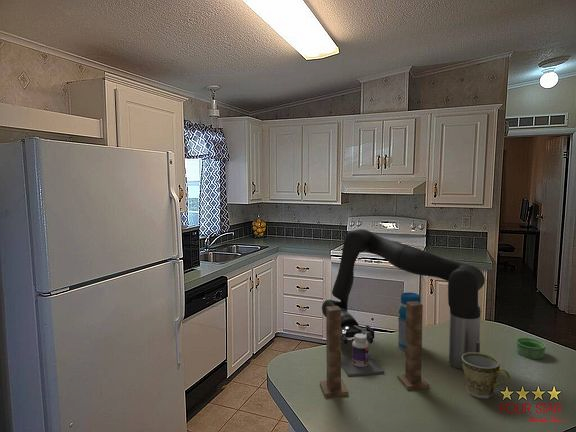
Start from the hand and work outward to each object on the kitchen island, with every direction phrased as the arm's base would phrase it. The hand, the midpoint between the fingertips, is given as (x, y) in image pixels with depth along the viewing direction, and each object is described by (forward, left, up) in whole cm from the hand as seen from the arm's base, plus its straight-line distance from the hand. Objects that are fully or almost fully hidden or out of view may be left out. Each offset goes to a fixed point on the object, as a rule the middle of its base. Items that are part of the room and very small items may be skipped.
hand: (359, 341), depth 131 cm
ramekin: (-55, -29, -8) cm, 62 cm away
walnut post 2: (-18, +6, -8) cm, 20 cm away
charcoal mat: (-1, +1, -8) cm, 8 cm away
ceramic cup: (-38, +5, -8) cm, 39 cm away
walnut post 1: (+4, +18, -8) cm, 20 cm away
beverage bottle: (-15, -20, -8) cm, 26 cm away
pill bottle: (0, +1, -7) cm, 7 cm away
